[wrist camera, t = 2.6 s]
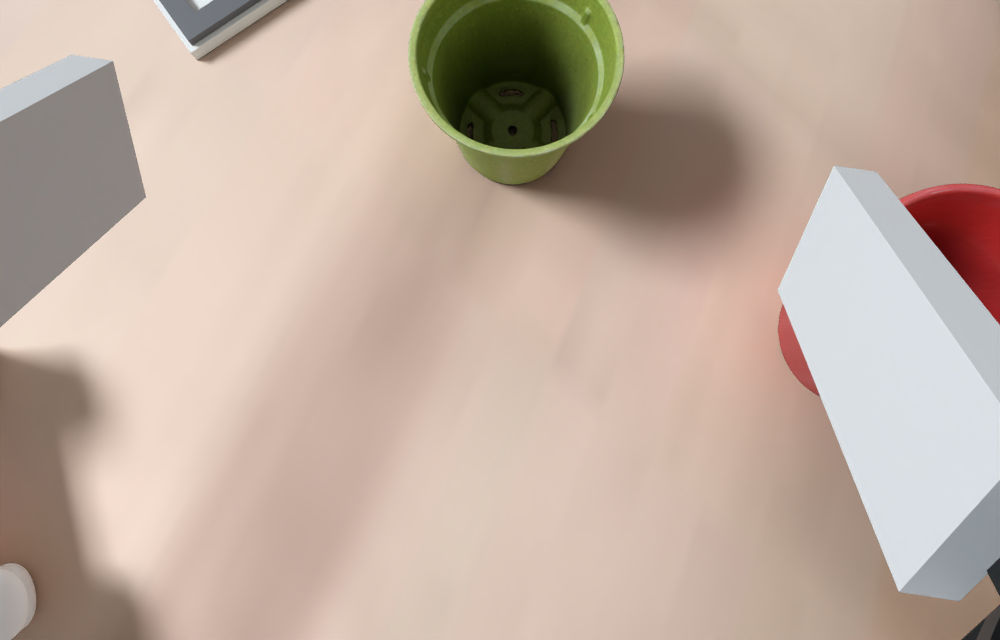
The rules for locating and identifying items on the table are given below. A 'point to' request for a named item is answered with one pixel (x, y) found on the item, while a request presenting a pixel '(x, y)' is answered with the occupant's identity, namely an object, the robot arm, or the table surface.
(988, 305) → the flower pot
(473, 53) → the plant pot
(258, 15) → the marked board
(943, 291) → the robot arm
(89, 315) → the table surface
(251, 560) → the table surface
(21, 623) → the bone shaped toy
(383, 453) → the table surface
